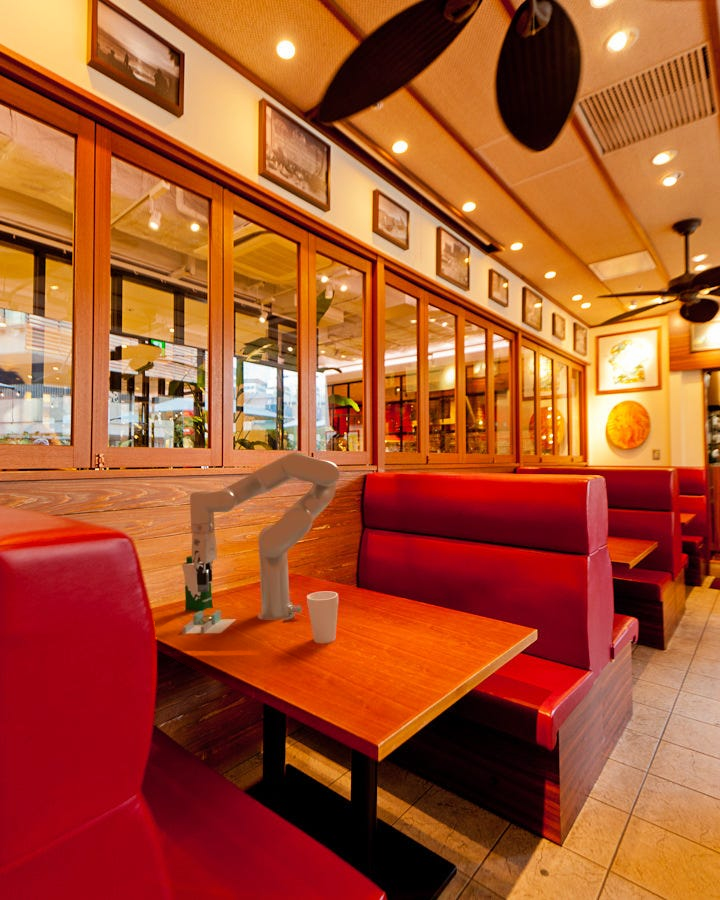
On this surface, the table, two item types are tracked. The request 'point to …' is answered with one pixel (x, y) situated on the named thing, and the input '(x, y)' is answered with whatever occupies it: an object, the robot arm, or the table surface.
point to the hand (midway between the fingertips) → (204, 582)
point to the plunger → (206, 618)
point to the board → (207, 624)
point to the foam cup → (323, 615)
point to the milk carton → (195, 589)
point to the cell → (204, 587)
